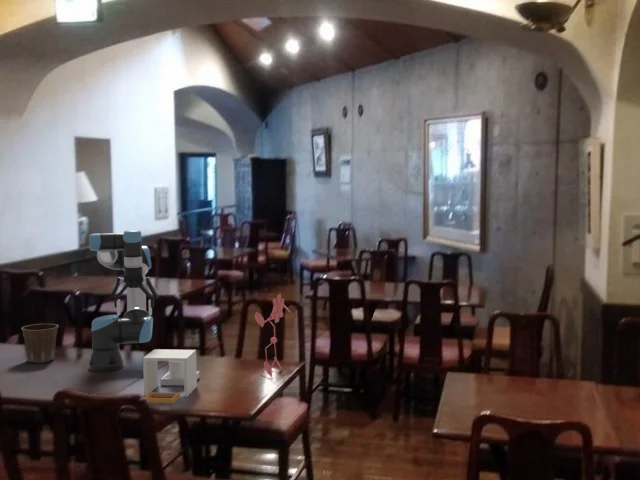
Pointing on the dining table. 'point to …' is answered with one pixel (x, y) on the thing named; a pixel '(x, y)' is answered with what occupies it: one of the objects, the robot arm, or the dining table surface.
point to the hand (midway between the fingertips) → (134, 315)
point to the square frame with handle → (173, 380)
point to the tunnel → (169, 355)
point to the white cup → (176, 369)
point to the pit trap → (162, 397)
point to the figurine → (275, 314)
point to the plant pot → (40, 342)
